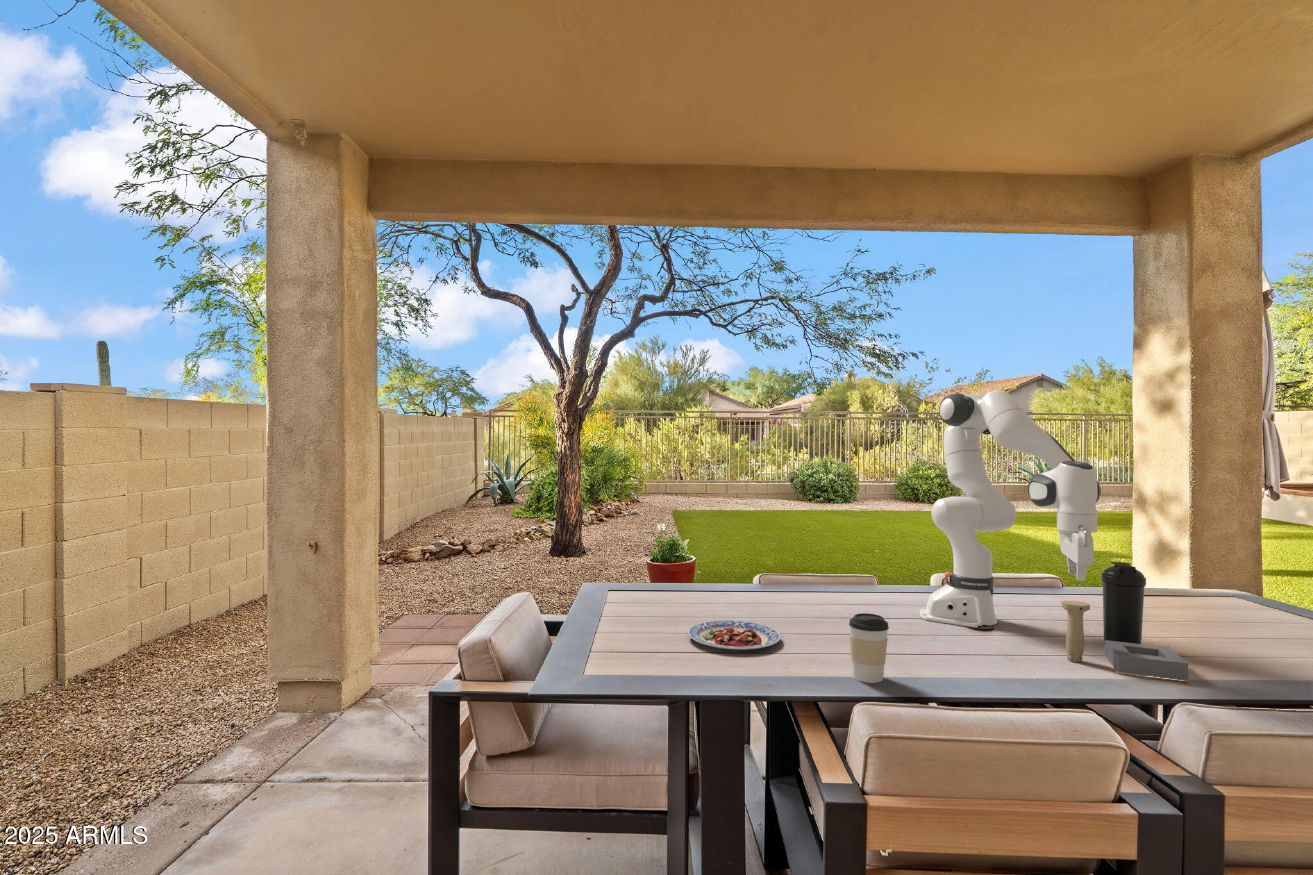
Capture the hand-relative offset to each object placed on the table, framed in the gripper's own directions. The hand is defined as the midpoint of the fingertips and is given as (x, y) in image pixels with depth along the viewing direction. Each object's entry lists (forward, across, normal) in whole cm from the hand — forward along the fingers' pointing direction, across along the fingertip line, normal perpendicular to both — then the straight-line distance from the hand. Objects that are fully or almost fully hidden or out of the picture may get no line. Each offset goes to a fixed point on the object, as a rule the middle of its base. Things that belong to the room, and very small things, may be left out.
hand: (1076, 577), depth 171 cm
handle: (+22, 0, 0) cm, 22 cm away
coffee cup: (+22, -34, +49) cm, 64 cm away
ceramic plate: (+22, -19, +86) cm, 91 cm away
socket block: (+22, 0, -15) cm, 26 cm away
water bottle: (+22, +19, -15) cm, 33 cm away
